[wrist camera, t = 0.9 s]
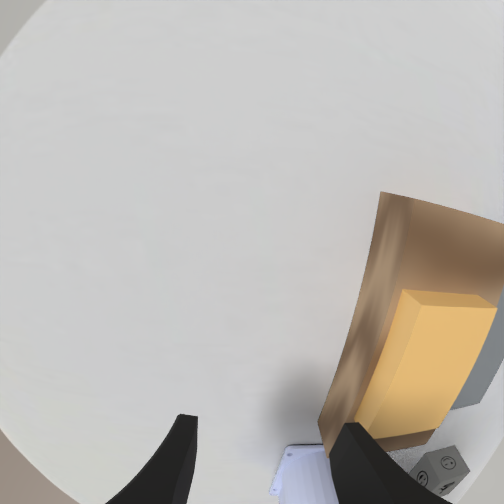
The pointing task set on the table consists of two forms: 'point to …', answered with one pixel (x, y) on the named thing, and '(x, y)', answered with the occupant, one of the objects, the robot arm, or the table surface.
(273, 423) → the table surface
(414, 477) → the dice cube
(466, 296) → the yellow orange block
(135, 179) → the table surface
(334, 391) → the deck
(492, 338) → the mat
